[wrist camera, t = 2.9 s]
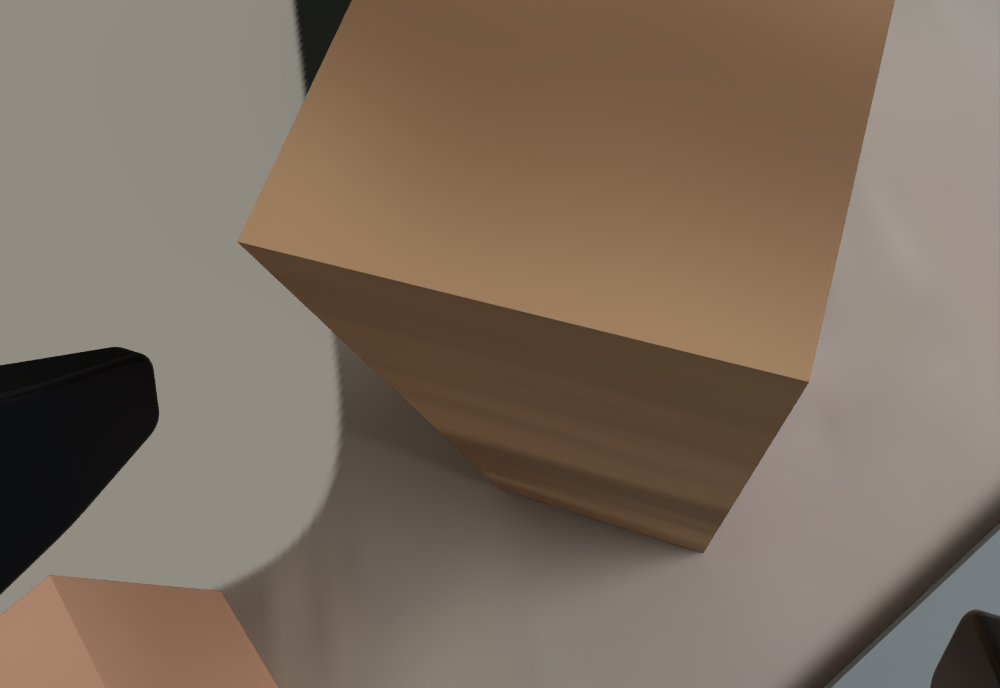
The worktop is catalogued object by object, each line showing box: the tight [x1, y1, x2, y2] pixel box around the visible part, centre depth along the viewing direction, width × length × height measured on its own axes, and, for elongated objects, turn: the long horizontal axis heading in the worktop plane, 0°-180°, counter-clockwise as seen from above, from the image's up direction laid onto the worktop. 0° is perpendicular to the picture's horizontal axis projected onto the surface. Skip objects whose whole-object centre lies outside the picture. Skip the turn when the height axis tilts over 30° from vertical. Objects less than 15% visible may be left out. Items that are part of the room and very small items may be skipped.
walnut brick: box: [237, 0, 895, 553], centre depth 13 cm, size 5×5×13 cm
